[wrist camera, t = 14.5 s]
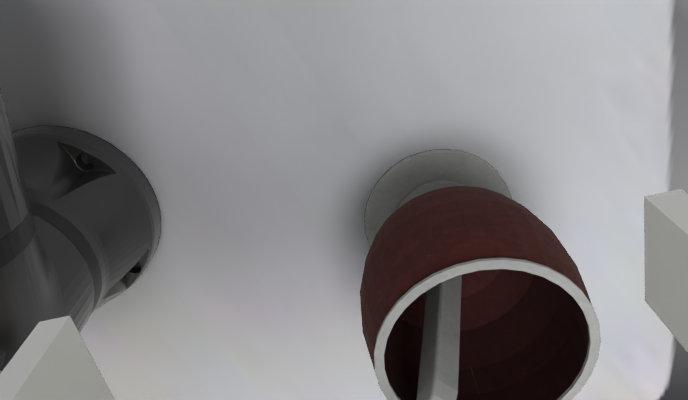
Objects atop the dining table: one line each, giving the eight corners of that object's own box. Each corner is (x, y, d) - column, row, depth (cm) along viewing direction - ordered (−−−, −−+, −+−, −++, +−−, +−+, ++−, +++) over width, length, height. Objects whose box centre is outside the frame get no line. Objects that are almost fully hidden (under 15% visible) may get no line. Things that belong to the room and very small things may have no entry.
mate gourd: (426, 105, 44) (490, 231, 26) (556, 200, 47) (692, 368, 29) (311, 248, 49) (297, 436, 31) (436, 324, 53) (489, 531, 35)
